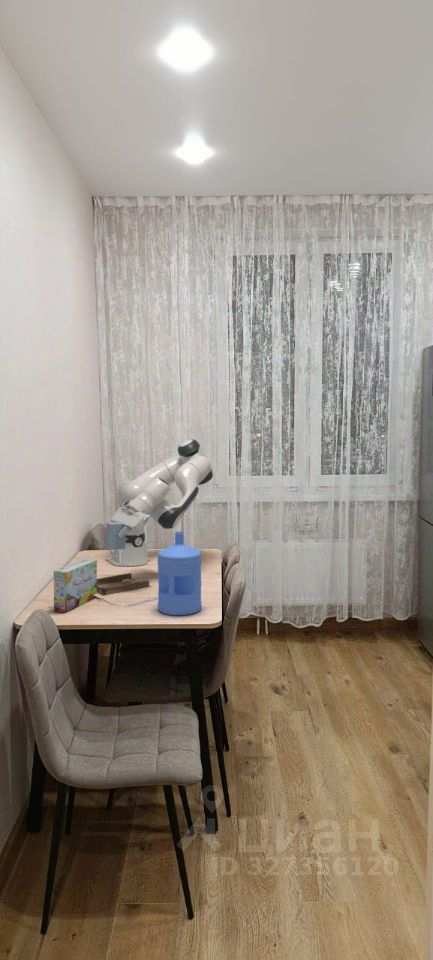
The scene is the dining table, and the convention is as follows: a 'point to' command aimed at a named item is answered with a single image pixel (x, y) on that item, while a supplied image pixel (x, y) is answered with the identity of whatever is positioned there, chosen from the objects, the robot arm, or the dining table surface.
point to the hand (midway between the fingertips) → (115, 535)
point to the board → (114, 536)
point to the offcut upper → (128, 581)
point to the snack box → (75, 585)
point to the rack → (121, 587)
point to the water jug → (179, 578)
